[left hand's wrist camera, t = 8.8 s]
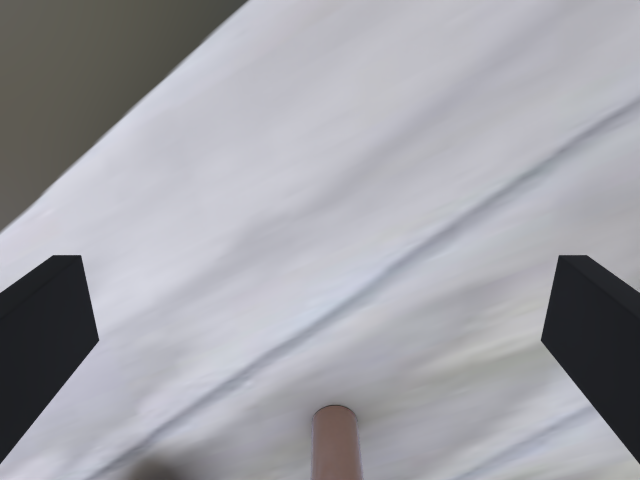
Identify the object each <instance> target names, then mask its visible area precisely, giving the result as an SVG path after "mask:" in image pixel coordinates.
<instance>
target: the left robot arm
mask: <svg viewBox="0 0 640 480" xmlns="http://www.w3.org/2000/svg"><path fill="white" fill-rule="evenodd" d="M98 341H99V337H98V333H97V328H96V323H95V319H94V314H93V309H92V305H91V300H90V295H89V290H88V286H87V281H86V276H85V272H84V267H83V262H82V258H81V255H53V256H51V257H50V258H49V259H47V260H46V261H44V262H43V263H42V264H40V265H39V266H37V267H36V268H35V269H33V270H32V271H30V272H29V273H28V274H26V275H25V276H23V277H22V278H21V279H19V280H18V281H16V282H15V283H14V284H12V285H11V286H9V287H8V288H7V289H5V290H4V291H2V292H1V293H0V464H1V462H2V461H3V460H4V459H5V457H6V456H7V455H8V454H9V452H10V451H11V450H12V449H13V448H14V446H15V445H16V444H17V443H18V441H19V440H20V439H21V438H22V436H23V435H24V434H25V433H26V431H27V430H28V429H29V428H30V426H31V425H32V424H33V423H34V421H35V420H36V419H37V418H38V416H39V415H40V414H41V413H42V411H43V410H44V409H45V408H46V406H47V405H48V404H49V403H50V401H51V400H52V399H53V398H54V396H55V395H56V394H57V393H58V391H59V390H60V389H61V388H62V386H63V385H64V384H65V383H66V381H67V380H68V379H69V378H70V376H71V375H72V374H73V373H74V371H75V370H76V369H77V368H78V366H79V365H80V364H81V363H82V361H83V360H84V359H85V358H86V356H87V355H88V354H89V353H90V351H91V350H92V349H93V348H94V346H95V345H96V344H97V343H98ZM541 341H542V343H543V344H544V345H545V346H546V348H547V349H548V350H549V351H550V353H551V354H552V355H553V356H554V358H555V359H556V360H557V361H558V363H559V364H560V365H561V366H562V368H563V369H564V370H565V371H566V373H567V374H568V375H569V376H570V378H571V379H572V380H573V381H574V383H575V384H576V385H577V386H578V388H579V389H580V390H581V391H582V393H583V394H584V395H585V396H586V398H587V399H588V400H589V401H590V403H591V404H592V405H593V406H594V408H595V409H596V410H597V411H598V413H599V414H600V415H601V416H602V418H603V419H604V420H605V421H606V423H607V424H608V425H609V426H610V428H611V429H612V430H613V431H614V433H615V434H616V435H617V436H618V438H619V439H620V440H621V441H622V443H623V444H624V445H625V446H626V448H627V449H628V450H629V451H630V452H631V454H632V455H633V456H634V457H635V459H636V460H637V461H638V462H639V464H640V293H639V292H638V291H636V290H635V289H633V288H632V287H631V286H629V285H628V284H626V283H625V282H624V281H622V280H621V279H619V278H618V277H617V276H615V275H614V274H612V273H611V272H610V271H608V270H607V269H605V268H604V267H603V266H601V265H600V264H598V263H597V262H596V261H594V260H593V259H591V258H590V257H589V256H587V255H559V258H558V262H557V267H556V272H555V276H554V281H553V286H552V290H551V295H550V300H549V304H548V309H547V314H546V319H545V323H544V328H543V333H542V337H541Z"/></svg>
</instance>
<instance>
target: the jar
mask: <svg viewBox="0 0 640 480" xmlns="http://www.w3.org/2000/svg"><path fill="white" fill-rule="evenodd" d="M311 480H364V476H363V467H362V458H361V449H360V440H359V431H358V422H357V418H356V416H355V414H354V413H353V412H352V411H351V410H349V409H348V408H345V407H343V406H327V407H324V408H322V409H321V410H319V411H318V412H317V413H316V414H315V415H314V417H313V419H312V437H311Z"/></svg>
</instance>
